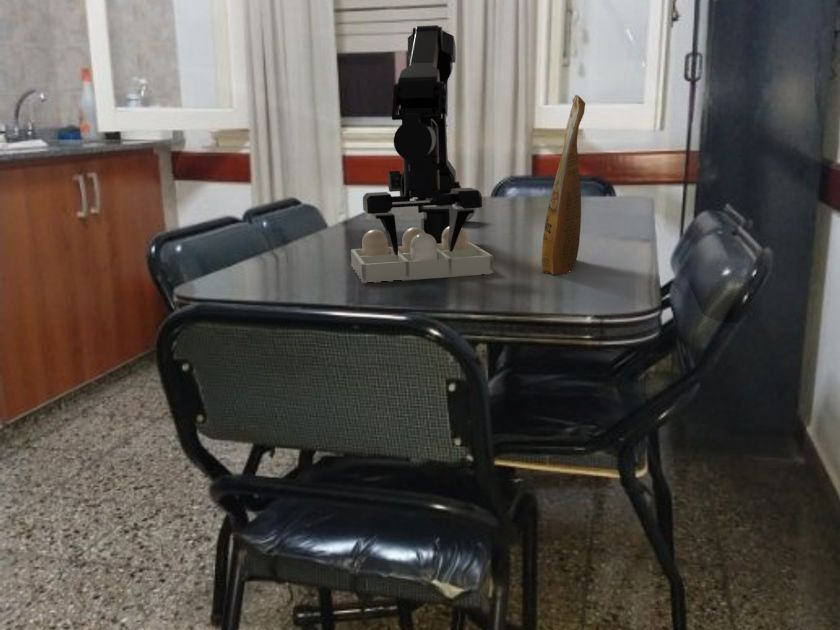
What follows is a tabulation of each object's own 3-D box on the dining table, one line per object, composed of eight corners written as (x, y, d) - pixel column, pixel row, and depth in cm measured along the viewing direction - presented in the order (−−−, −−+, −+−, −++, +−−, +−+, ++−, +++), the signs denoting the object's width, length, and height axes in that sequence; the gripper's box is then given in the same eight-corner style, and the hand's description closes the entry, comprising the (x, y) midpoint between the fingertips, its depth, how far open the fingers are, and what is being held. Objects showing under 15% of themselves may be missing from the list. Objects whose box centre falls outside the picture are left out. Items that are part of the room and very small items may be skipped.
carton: (469, 258, 142) (469, 220, 140) (493, 273, 128) (493, 232, 126) (351, 266, 138) (349, 227, 136) (362, 283, 124) (360, 240, 122)
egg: (434, 267, 132) (433, 230, 131) (440, 272, 128) (439, 234, 126) (408, 268, 131) (407, 231, 130) (413, 273, 127) (412, 236, 125)
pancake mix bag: (588, 256, 141) (592, 94, 134) (579, 278, 123) (583, 93, 116) (550, 255, 143) (553, 96, 136) (536, 277, 125) (538, 95, 118)
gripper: (464, 151, 134) (465, 241, 138) (356, 156, 131) (360, 248, 135) (482, 155, 124) (483, 252, 128) (365, 160, 120) (370, 260, 124)
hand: (423, 253), depth 129 cm, fingers open, 9 cm apart
